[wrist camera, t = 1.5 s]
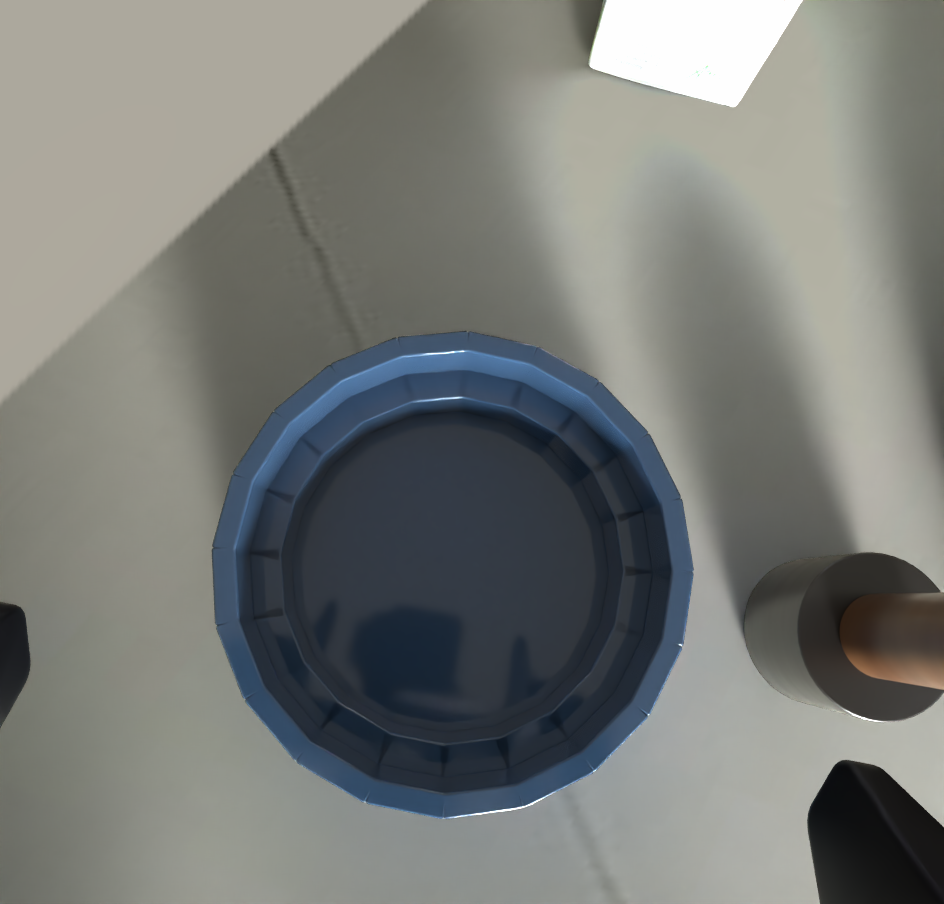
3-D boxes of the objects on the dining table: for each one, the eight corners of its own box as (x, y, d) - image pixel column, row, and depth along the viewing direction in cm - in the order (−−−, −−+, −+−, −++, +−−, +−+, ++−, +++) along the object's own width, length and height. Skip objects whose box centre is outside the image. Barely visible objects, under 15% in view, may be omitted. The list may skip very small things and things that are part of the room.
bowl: (726, 579, 24) (787, 576, 20) (435, 872, 21) (438, 934, 17) (465, 301, 25) (472, 245, 21) (165, 552, 23) (110, 542, 19)
